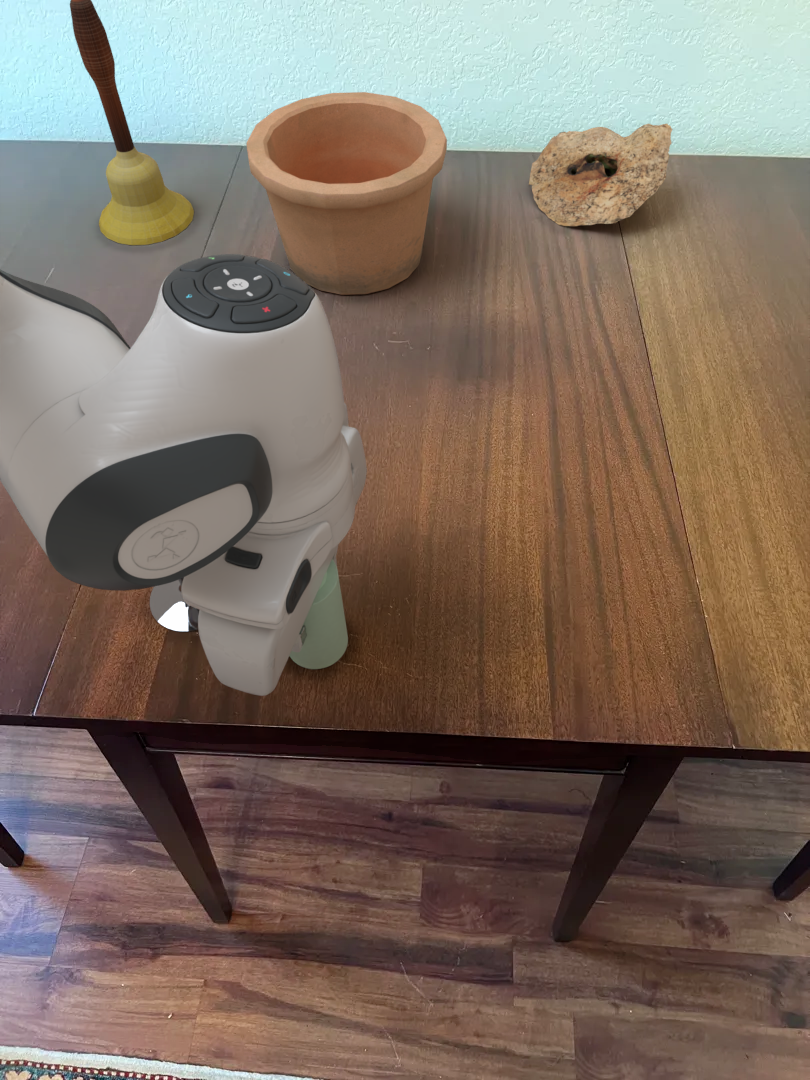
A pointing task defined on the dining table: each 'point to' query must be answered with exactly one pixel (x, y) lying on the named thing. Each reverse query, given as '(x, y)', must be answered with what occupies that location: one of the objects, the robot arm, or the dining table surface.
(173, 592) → the wine glass
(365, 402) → the dining table surface
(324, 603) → the bottle
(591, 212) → the rough tan rock
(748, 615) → the dining table surface
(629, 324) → the dining table surface
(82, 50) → the handbell
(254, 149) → the pottery
